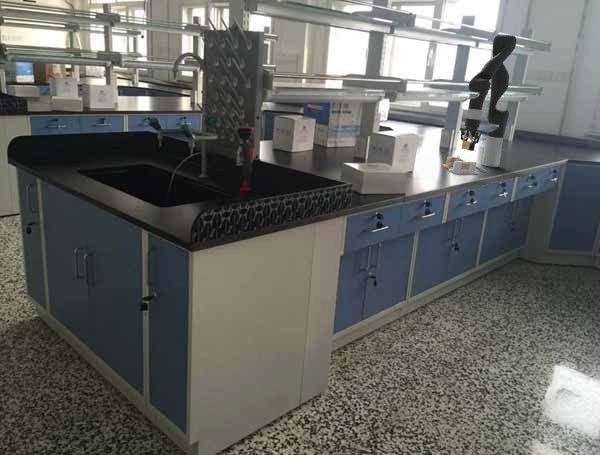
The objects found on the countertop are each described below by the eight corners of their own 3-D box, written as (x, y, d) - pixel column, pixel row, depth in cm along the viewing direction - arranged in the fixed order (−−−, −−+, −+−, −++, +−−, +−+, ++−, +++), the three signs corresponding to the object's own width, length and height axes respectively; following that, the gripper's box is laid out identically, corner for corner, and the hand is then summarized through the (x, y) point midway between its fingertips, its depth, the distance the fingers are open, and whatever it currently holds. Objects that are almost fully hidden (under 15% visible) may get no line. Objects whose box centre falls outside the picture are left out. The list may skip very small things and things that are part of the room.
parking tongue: (452, 166, 302) (454, 155, 300) (461, 169, 294) (463, 158, 293) (441, 166, 299) (443, 155, 297) (449, 169, 292) (451, 158, 290)
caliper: (453, 166, 302) (454, 155, 300) (453, 166, 303) (455, 155, 301) (488, 173, 291) (490, 162, 289) (488, 173, 291) (490, 162, 289)
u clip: (467, 148, 285) (468, 141, 284) (474, 150, 280) (475, 142, 279) (461, 148, 283) (462, 140, 282) (468, 150, 278) (469, 142, 277)
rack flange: (469, 170, 292) (471, 160, 290) (478, 174, 285) (480, 163, 283) (448, 170, 287) (450, 160, 285) (457, 174, 280) (459, 163, 278)
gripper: (488, 120, 272) (482, 152, 277) (470, 116, 284) (464, 147, 289) (476, 119, 269) (470, 152, 274) (459, 115, 281) (453, 147, 287)
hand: (467, 149), depth 282 cm, fingers closed on u clip, 5 cm apart
